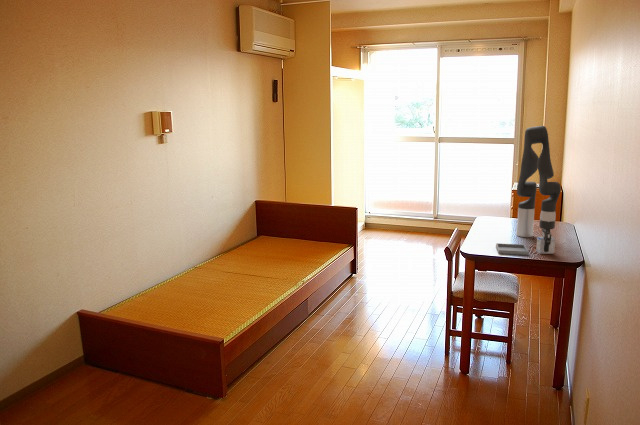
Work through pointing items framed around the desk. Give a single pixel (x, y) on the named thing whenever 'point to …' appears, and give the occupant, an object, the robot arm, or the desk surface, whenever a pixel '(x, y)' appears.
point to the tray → (512, 249)
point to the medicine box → (541, 246)
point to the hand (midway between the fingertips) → (545, 250)
